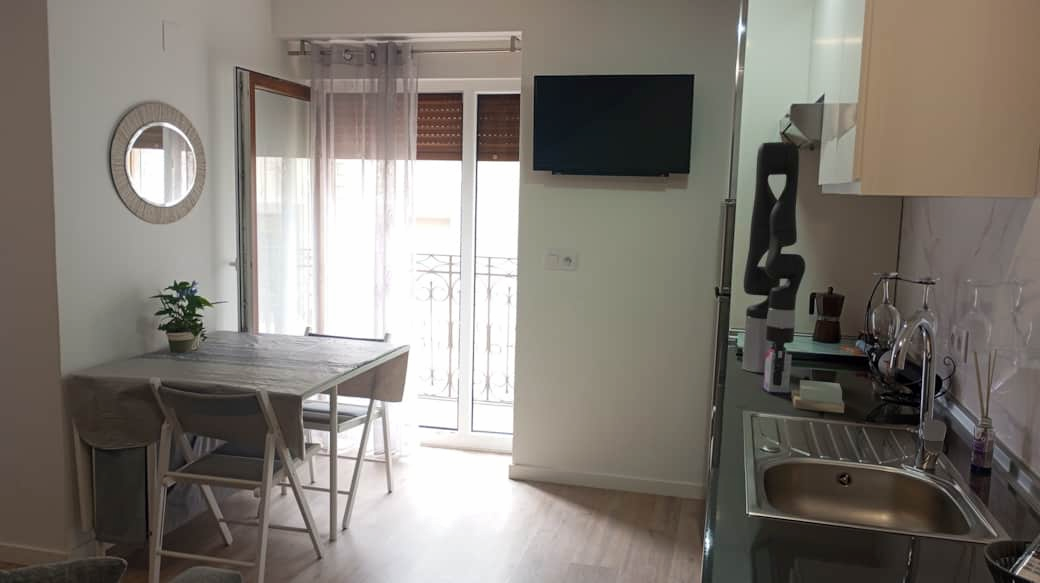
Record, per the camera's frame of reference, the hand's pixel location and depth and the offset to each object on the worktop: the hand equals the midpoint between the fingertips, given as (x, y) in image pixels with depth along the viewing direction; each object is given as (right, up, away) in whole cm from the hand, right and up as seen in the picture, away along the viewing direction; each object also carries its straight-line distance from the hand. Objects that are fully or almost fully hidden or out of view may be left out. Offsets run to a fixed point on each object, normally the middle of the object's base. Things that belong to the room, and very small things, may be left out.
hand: (776, 382), depth 221 cm
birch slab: (+7, -5, -13) cm, 15 cm away
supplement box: (0, -3, 0) cm, 3 cm away
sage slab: (+7, -2, -13) cm, 15 cm away
